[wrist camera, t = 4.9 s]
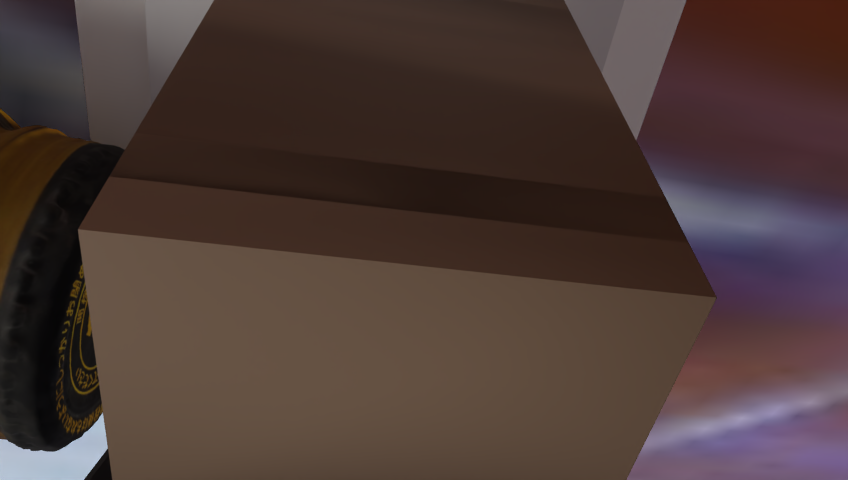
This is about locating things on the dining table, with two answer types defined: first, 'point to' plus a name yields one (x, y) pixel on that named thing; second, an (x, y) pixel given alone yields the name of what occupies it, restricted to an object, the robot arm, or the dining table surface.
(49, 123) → the dining table surface
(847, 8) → the dining table surface
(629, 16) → the notch ledge
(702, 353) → the dining table surface
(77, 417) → the condiment
